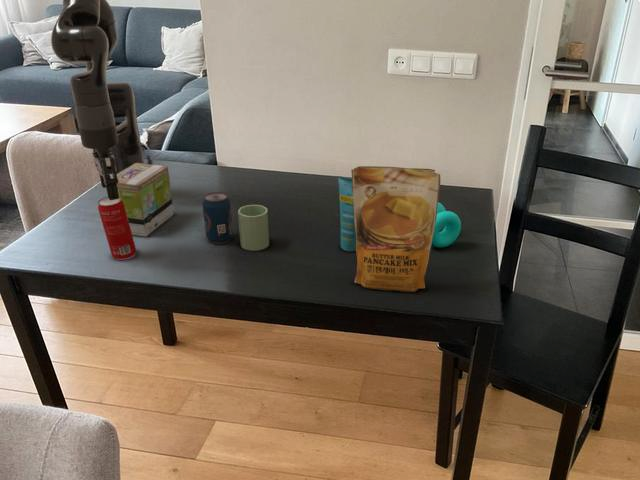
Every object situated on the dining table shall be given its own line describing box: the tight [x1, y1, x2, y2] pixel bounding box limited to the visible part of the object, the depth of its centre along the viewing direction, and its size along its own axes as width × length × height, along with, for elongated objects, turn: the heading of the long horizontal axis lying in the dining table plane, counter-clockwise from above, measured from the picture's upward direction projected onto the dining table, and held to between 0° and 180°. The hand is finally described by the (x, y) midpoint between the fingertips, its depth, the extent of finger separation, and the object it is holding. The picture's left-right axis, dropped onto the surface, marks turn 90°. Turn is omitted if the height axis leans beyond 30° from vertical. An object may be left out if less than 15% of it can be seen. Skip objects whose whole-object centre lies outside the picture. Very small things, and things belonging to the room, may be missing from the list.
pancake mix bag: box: [350, 165, 441, 293], centre depth 130 cm, size 7×19×28 cm, turn 84°
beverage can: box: [97, 196, 137, 261], centre depth 141 cm, size 6×6×15 cm
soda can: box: [201, 191, 234, 245], centre depth 151 cm, size 7×7×12 cm
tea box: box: [105, 163, 174, 237], centre depth 156 cm, size 15×10×15 cm, turn 168°
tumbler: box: [237, 204, 270, 252], centre depth 149 cm, size 7×7×10 cm
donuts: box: [431, 201, 462, 249], centre depth 154 cm, size 10×10×10 cm
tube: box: [337, 175, 356, 252], centre depth 147 cm, size 7×5×19 cm, turn 72°
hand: (110, 192), depth 136 cm, fingers open, 8 cm apart
